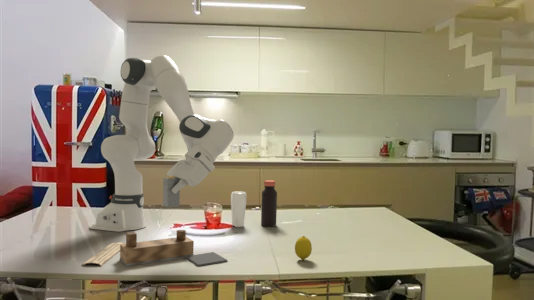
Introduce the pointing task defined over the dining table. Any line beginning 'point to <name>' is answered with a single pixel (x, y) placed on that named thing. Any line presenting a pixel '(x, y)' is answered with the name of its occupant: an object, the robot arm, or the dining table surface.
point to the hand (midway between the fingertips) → (169, 191)
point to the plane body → (155, 249)
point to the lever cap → (168, 196)
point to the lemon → (303, 247)
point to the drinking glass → (238, 208)
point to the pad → (206, 259)
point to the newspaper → (105, 254)
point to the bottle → (269, 204)
